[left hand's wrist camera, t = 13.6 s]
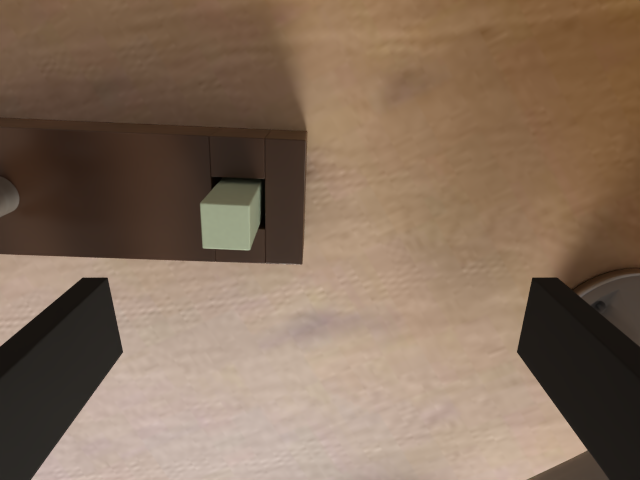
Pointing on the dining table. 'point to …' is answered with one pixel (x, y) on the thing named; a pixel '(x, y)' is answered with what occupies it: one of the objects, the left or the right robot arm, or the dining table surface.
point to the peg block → (143, 189)
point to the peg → (232, 213)
